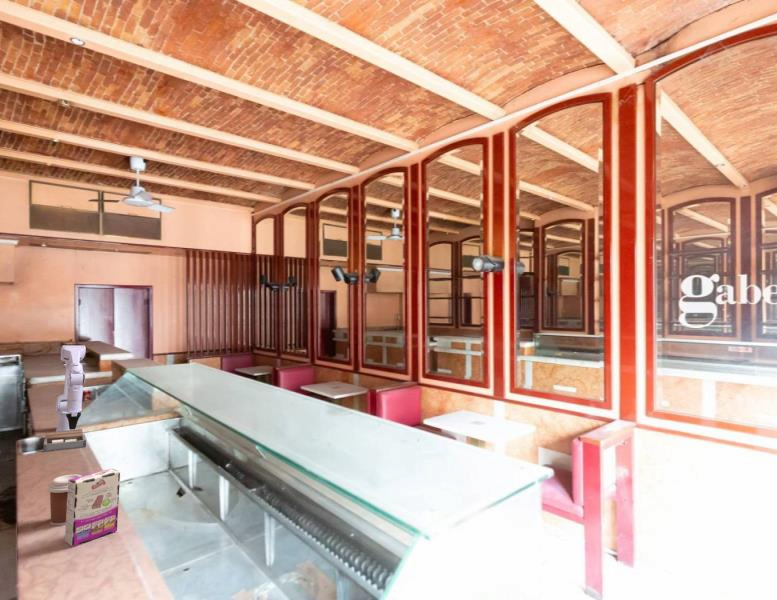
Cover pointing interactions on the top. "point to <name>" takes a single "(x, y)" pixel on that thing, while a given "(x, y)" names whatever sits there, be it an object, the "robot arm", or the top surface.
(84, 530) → the candy bar box
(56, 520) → the coffee cup
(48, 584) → the top surface
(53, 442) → the cream tile
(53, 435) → the plate
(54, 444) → the tray
